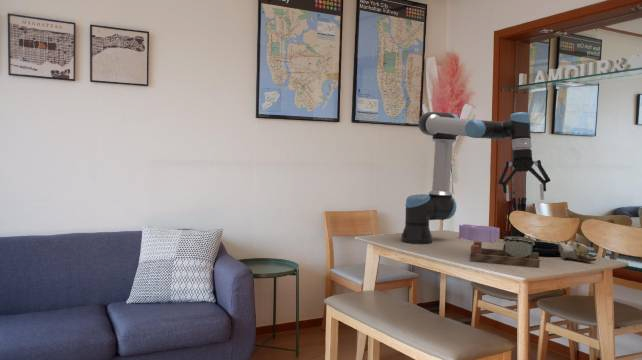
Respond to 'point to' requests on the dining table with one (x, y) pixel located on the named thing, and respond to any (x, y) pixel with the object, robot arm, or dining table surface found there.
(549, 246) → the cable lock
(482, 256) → the brown wooden tray
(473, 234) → the purple block
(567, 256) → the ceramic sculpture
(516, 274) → the dining table surface
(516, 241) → the food container
